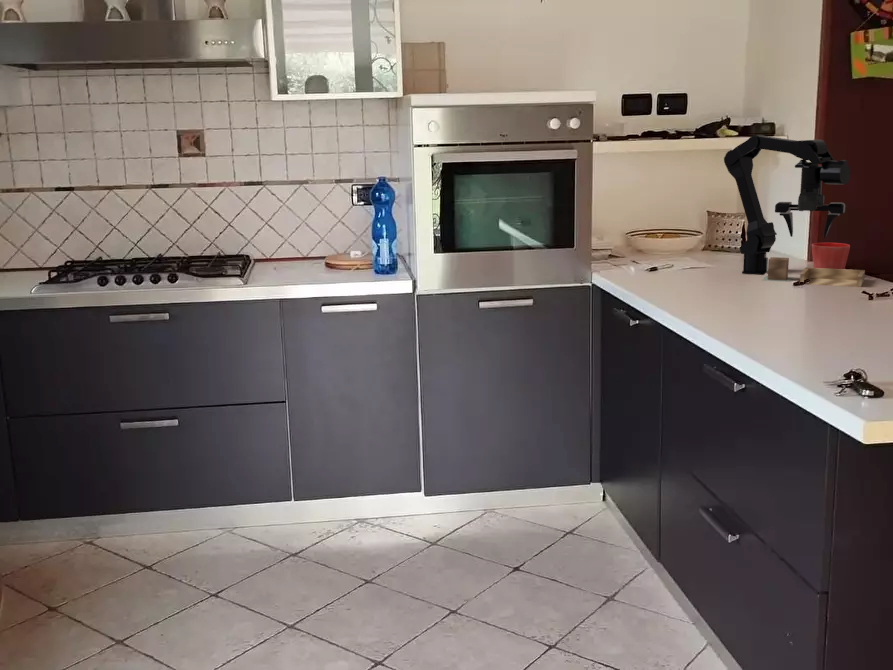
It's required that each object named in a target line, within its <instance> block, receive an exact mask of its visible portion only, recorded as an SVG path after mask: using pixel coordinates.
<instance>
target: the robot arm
mask: <svg viewBox="0 0 893 670" xmlns="http://www.w3.org/2000/svg"><path fill="white" fill-rule="evenodd" d="M761 150H766V151H774V152H779V153H787V154H791V155H793V156H794V157H796V158H798V159H800V160H799V161H798V162H797V163H796V164H795V165H794V169H795V168H797V169H801V175H800V177H801V178H800V190H799V191H800V192H799V195H798V199H797V204H794V203H792V201H779V202H777V203H776V204H775V206H774V213H777V214H778V213H779V216H780V217H781V216H783V218H784V220H785V222H786V223H785V224H786V225H787V228H788V233H789V236H790V237H791V238H792V237H794V236H793V234H794V221H793V217H794V216H793V211H798V212H805V211H806V212H814V211H817V212H828V214H826V221H825V225H824V226H825V227H824V231H823V238H824V239H825V238H826V237H827V235H828V233H829V231H830V228H831V226H832V223H833V221H834V220H835V218H836V217H839V216H840V215H842V214H845V212H846V204H845V203H844V202H841V201H840V202H838V201H837V202H836V201H835V202H834V201H833V202H830V203H829V204H825V194H824V193H822V187H823V184H825V185H843V186H844V185H847V184H848V183H849V181H850V178H851V169H850V167H849V165H848V160H845V159H842V160H835V159H834V158H833V156H832V154H831V153H830V151H829V150H828V146H827V144H826V141H825V140H823V139H808V140H805V139H804V140H802V139H801V140H794V139H790V138H789V139H788V138H782V137H774V136H768V135H764V134H754V135H752V136H750V137H749V138H748V139H746V140H745V141H743V142H741V143H740V144H739V145H737V146H735V147H734V148H733V149H730V150H728V151H727V152H726V153H725V155H724V157H723V163H724V165H725V167H726V169H727V172H728V173H729V174H730V175H731V176H732V177H733V179H734V180H735V182H736V185H737V186H736V187H737V190H738V194H739V197H740V200H741V203H742V206H743V210H744V214H745V218H746V221H747V228H746V233H745V234H746V240H745V241H744V242H743V243H742V244H741V245H740V246H739V251H740V254H741V255H743V267H742V268H743V269H742V271H741V274H750V275H752V274H754V275H764V274H765V273H767V272H768V261H769V258H768V257H767V253H770V252H771V249H772V247H773V246H774V244H775V243H776V241H777V238H776V237H777V235H778V234H777V232H776V230H775V225H774V222H768V221H767V220H766V219H765V217H764V213H763V210H762V207H761V203H760V200H759V196H758V193H757V189H756V187H755V183H754V180H753V179H754V178H753V175H752V174H753V169H754V163H753V160H754V159H755V158H756V157H757V156H758V155H759V154H760V152H761Z"/></svg>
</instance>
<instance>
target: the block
mask: <svg viewBox="0 0 893 670" xmlns="http://www.w3.org/2000/svg"><path fill="white" fill-rule="evenodd" d="M789 263H790V258H789V257H778V256H777V257H775V256H773V257H770V258H768V269H767V276H768V280H786V279H787V278H788V277H789Z"/></svg>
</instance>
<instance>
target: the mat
mask: <svg viewBox="0 0 893 670" xmlns="http://www.w3.org/2000/svg"><path fill="white" fill-rule="evenodd" d="M794 278H795V277H793V276H788V278H787V279H786V280H768V275H766V276H764V277H763V278H762V279H761V281H767V282H768V281H769V282H789V283H790V282H792V281H793V280H794Z"/></svg>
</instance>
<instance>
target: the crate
mask: <svg viewBox="0 0 893 670" xmlns="http://www.w3.org/2000/svg"><path fill="white" fill-rule="evenodd" d="M865 273H866V270H865V269H846V268H845V269H825V268H814V267H805V268H804V269H803V270H802V271H801V273H800V274H799V275H800V276H799V283H800V282H804V280H806V279H810V281H809V283H806V284H805V285H812V286H816V285H817V286H829V287H830V286H834V287H852V288H853V287H854V288H856V287H857V288H862V286H863V284H864V282H865V278H866V277H865V275H866V274H865Z"/></svg>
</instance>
